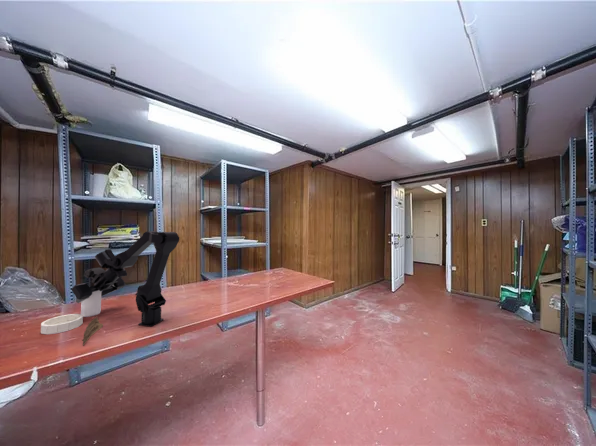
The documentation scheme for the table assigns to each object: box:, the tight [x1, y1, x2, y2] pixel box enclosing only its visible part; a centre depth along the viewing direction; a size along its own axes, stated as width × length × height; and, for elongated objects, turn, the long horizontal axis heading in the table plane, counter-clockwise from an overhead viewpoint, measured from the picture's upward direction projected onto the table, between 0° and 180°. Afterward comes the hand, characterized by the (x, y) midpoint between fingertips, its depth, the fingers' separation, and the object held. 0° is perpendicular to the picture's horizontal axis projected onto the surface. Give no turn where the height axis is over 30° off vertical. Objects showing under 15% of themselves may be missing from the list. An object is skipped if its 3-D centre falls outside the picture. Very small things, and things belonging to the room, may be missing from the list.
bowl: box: [40, 313, 84, 335], centre depth 84 cm, size 11×11×3 cm
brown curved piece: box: [81, 315, 104, 347], centre depth 78 cm, size 15×2×5 cm, turn 29°
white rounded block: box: [80, 290, 102, 318], centre depth 97 cm, size 6×6×12 cm
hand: (89, 298), depth 97 cm, fingers open, 9 cm apart
